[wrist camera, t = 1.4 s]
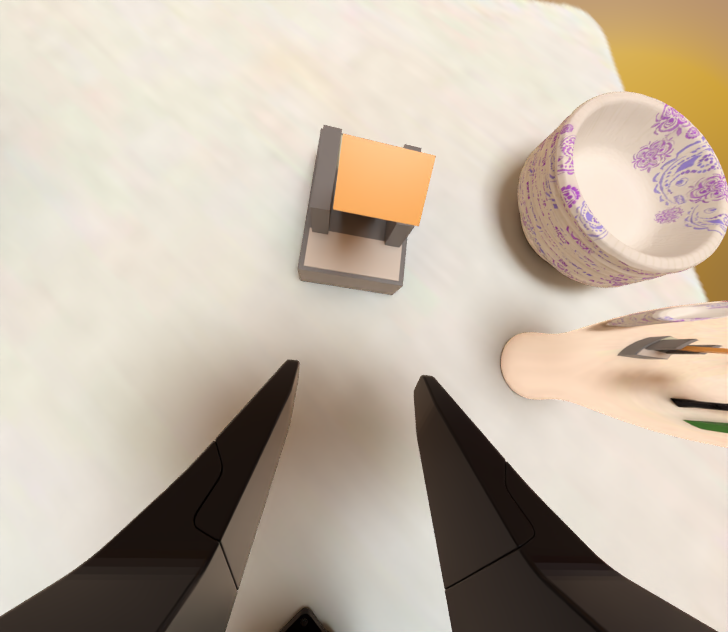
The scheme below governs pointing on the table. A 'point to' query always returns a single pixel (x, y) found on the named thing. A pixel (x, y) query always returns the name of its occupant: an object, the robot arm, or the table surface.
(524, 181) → the paper bowls
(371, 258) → the breaker block
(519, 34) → the table surface
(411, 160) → the breaker lever
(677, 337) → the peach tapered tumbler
